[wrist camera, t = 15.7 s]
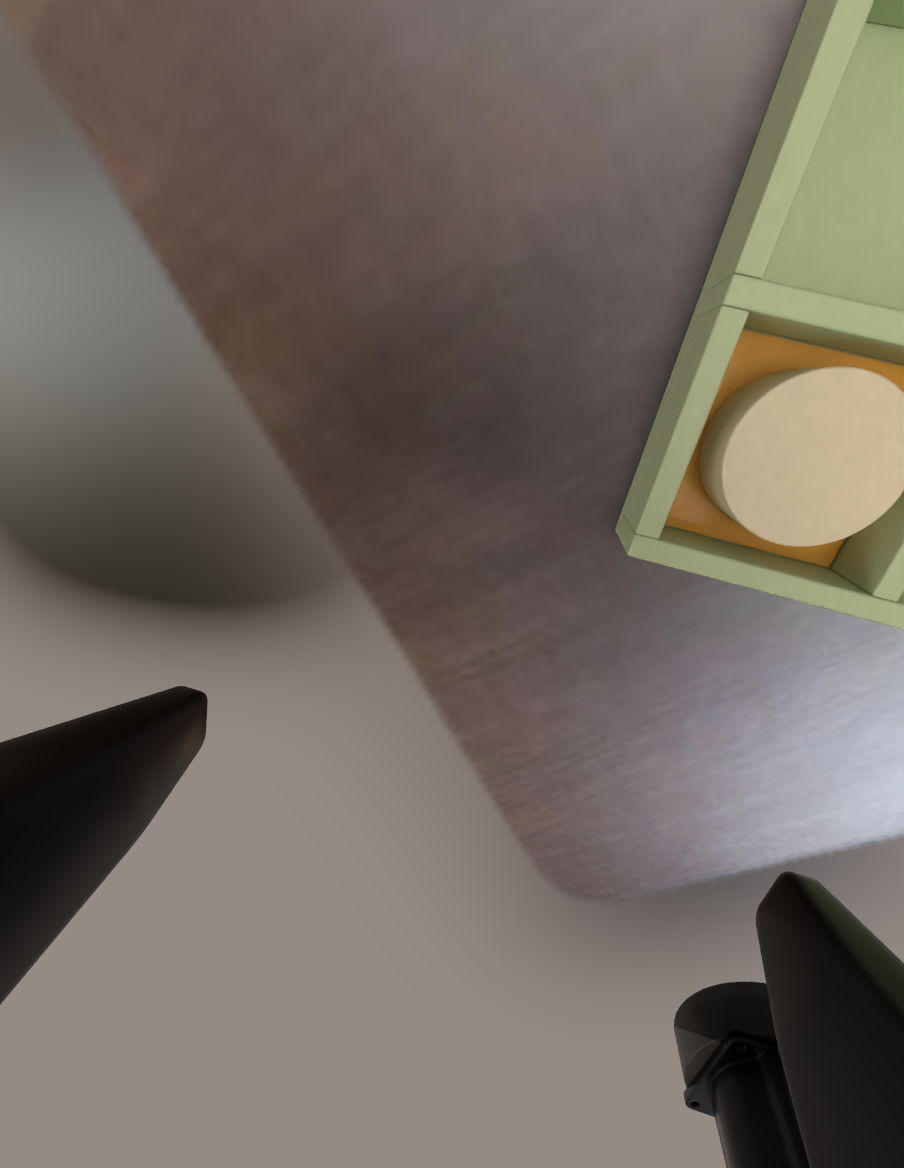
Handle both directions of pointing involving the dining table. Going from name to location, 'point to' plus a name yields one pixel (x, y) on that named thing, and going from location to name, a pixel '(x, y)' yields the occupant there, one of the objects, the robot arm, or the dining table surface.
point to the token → (806, 454)
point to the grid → (795, 309)
